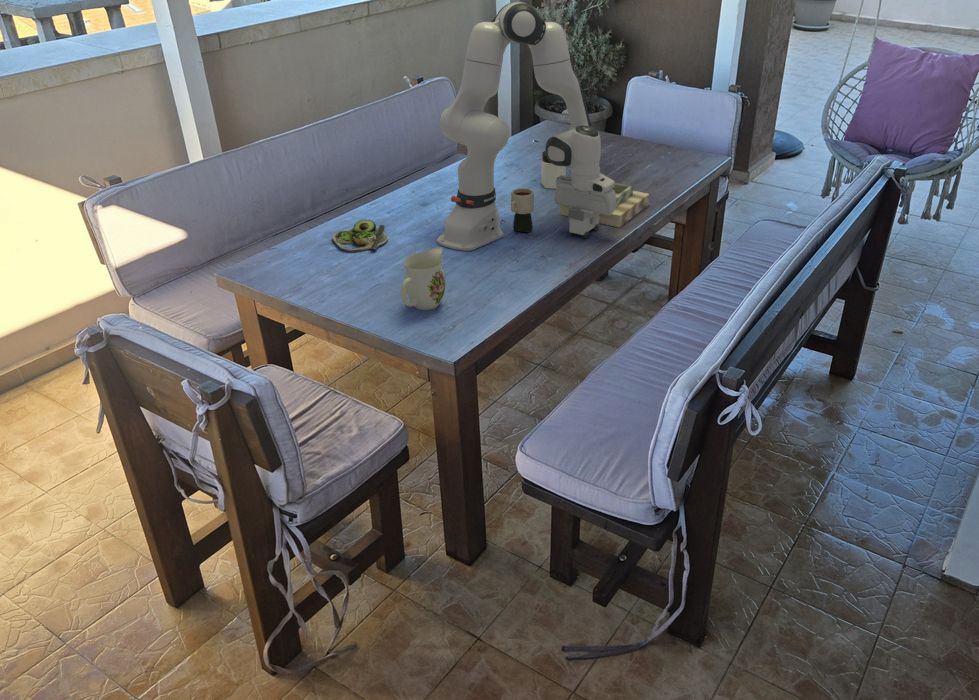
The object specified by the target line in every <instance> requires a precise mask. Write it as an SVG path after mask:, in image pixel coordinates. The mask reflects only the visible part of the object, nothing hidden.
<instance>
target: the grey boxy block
mask: <svg viewBox="0 0 979 700" xmlns="http://www.w3.org/2000/svg"><path fill="white" fill-rule="evenodd" d="M594 216H595V215H593V212H592V211H587V210H582V209H581V210H576V209H572V208H569V213H568V216H567V218H568V219H569V230H568V235H570V236H574V234H577V235H580V236H582V238H584V239H588V238H589V233H590V231H591V230H592V229H593V230H594V231H598V230H599V229H600V225H599V224H600V223H599V216H598V218H597V223H596V224H595V225H593V224H590V219H591V218H592V217H594Z"/></svg>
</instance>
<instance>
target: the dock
mask: <svg viewBox="0 0 979 700" xmlns="http://www.w3.org/2000/svg"><path fill="white" fill-rule="evenodd" d="M612 189H614V191H615V194H616V210H615V211H614V212H613V213H612V214H610V215H606V214H601V213H600V215H599V224H602V225H606V226H612V227H616V228H621V227H622V226H623V225H625V224H626V223H627V222H629V221H630V220H631V219H633V218H634V217H635V216H636V215H638V214H639V213H640V212H642V211H643V210H644V209H646V208H647V207H648V206H649V205H650V193H647V192H642V191H637V190H634V186H633V185H627V184H623V183H617V182H615V185H614V187H613V188H612ZM575 209H576V210H581V209H578V208H575ZM568 213H569V207H568V206H563V205H559V215H560V216H565V217H568Z"/></svg>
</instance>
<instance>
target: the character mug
mask: <svg viewBox="0 0 979 700" xmlns="http://www.w3.org/2000/svg"><path fill="white" fill-rule="evenodd" d="M510 197H511V198H510V201H511V202H510V211H511V212H512V213H514V217H513V224H512V229H513V230H514V231H515V232H523V233H524V232H527V233H528V232H531V231H532V230H533V227H534V226H533V219H532V218H533V217H532V214H531V213H532V212H534V209H535V204H534V203H535V193H534V190H533V189H531V188H525V187H521V188H514V189H512V190H511V193H510Z"/></svg>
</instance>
